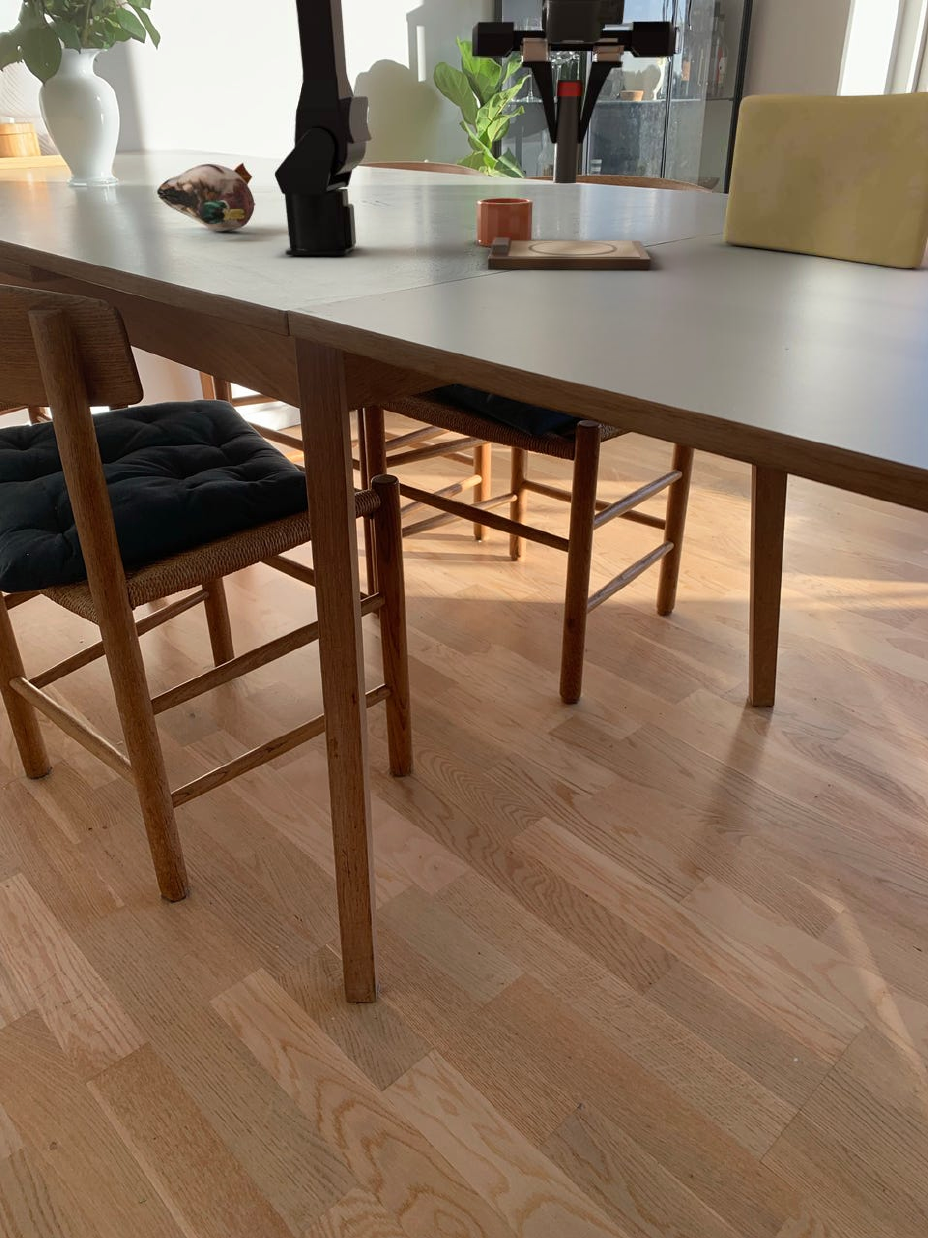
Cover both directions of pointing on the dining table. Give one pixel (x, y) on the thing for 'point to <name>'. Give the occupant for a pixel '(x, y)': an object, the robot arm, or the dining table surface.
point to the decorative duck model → (211, 196)
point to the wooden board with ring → (568, 255)
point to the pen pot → (504, 219)
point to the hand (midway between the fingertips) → (566, 143)
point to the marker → (567, 131)
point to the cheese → (832, 176)
